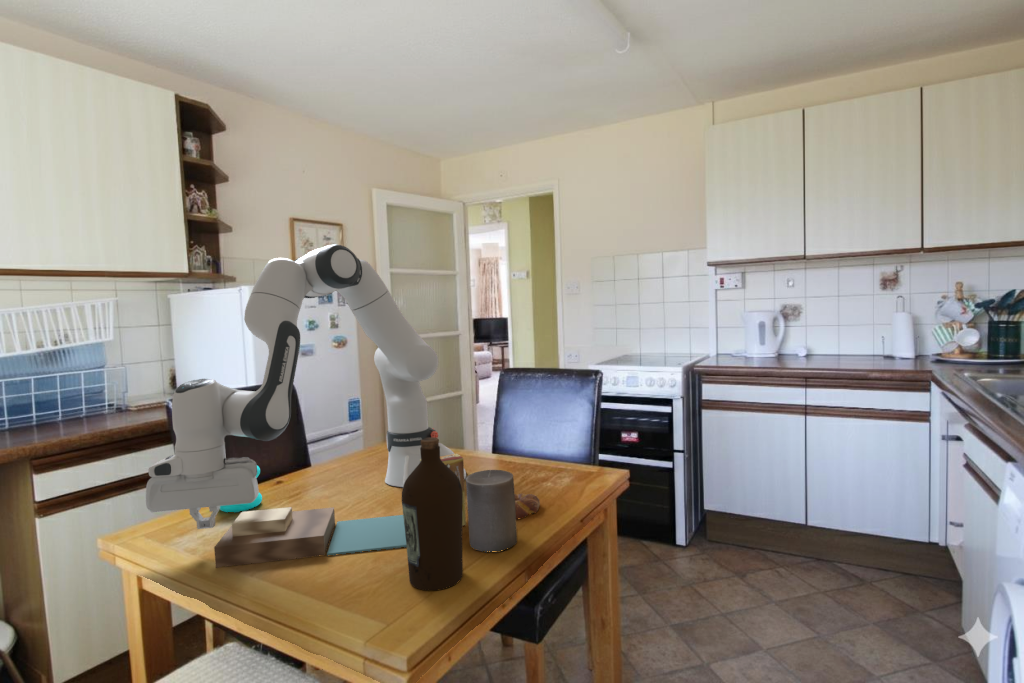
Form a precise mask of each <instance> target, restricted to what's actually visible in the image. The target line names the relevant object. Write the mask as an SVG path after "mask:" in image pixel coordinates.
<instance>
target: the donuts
mask: <svg viewBox="0 0 1024 683" xmlns="http://www.w3.org/2000/svg"><path fill="white" fill-rule="evenodd" d="M260 474H261V468H260V466H259V465H257V475H256V479H257V478H258V477H259V475H260ZM262 502H263V496H262V493H261V492H259V494H258V496H257V498H256V499H255V500H254V501H253V502H252V503H245V504H235V505H224V506H220V509H219V511H221V512H224V513H228V512H234V513H239V512H240V511H242V512H245V511H250V510H253V509H255V508H256V507H258V506H259V505H260V504H261V503H262ZM254 507H255V508H254ZM249 509H250V510H249ZM240 513H241V512H240Z"/></svg>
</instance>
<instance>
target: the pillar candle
mask: <svg viewBox="0 0 1024 683" xmlns="http://www.w3.org/2000/svg"><path fill="white" fill-rule="evenodd" d="M464 481H465V485H466V486H465V488H466V503H467V521H468V522H467V523H468V535H469V546H470V545H471V546H470V547H472V548H474V549H473V550H475V549H476V550H475V551H479V552H483V551H485V552H484V553H487V551H488V552H489V551H490V552H492V551H501V550H504V549H507V548H510V547H512V546H513V545H514V546H515V545H516V544H517V543H518V538H517V535H518V534H517V530H518V529H517V519H516V510H515V481H514V475H513V473H512V472H510V471H508V470H500V469H487V470H486V469H484V470H479V471H476V472H472V473H471V474H469V475H466V478H465V479H464ZM514 546H513V547H514ZM513 547H512V548H513ZM472 548H471V549H472ZM510 549H511V548H510Z"/></svg>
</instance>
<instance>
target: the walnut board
mask: <svg viewBox="0 0 1024 683" xmlns="http://www.w3.org/2000/svg"><path fill="white" fill-rule="evenodd" d="M292 518H293V519H292V520H291V522H290V524H289V526H288V528H287V530H286V531H282V532H272V533H263V534H253V535H243V536H234V537H233V535H232V525H230V527H229V528H228V529H227V530H226V532H225V533H224V534H223V536H222V537H221V538H220V540H219V541H218V542H217V543H216V544H215V545H214V547H213V549H214V560H215V564H214V565H215V568H223V567H222V566H225V567H232V565H234V566H241V565H242V564H243V565H249V564H250V565H251V563H252V564H260V563H269V561H270V562H277V560H278V561H286V560H287V559H288V560H295V559H296V558H297V559H304V558H303V557H306V558H313V557H312V556H314V557H320V556H319V555H323V556H326V554H327V551H328V548H329V545H330V542H331V541H330V540H331V539H332V536H333V533H334V530H335V527H336V519H335V507H334V506H333V507H325V508H324V507H323V508H316V509H303V510H294V511H293V510H292ZM334 526H335V527H334ZM333 529H334V530H333ZM332 532H333V533H332ZM331 535H332V536H331ZM330 538H331V539H330ZM329 541H330V542H329ZM328 544H329V545H328ZM327 547H328V548H327ZM326 550H327V551H326ZM325 553H326V554H325ZM243 565H242V566H243Z"/></svg>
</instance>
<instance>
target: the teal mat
mask: <svg viewBox="0 0 1024 683" xmlns="http://www.w3.org/2000/svg"><path fill="white" fill-rule="evenodd" d="M330 540H331V541H330V542H329V545H328V548H327V551H326V556H327V557H329V556H328V555H333V556H337V555H336V554H342V555H347V554H346V553H351V554H356V553H355V552H360V553H363V552H362V551H368V552H371V551H370V550H377V551H382V550H381V549H386V550H394V549H393V548H395V549H402V548H401V547H404V548H407V546H406V536H405V526H404V517H403V514H399V515H398V514H397V515H388V516H379V517H378V516H377V517H369V518H368V517H367V518H359V519H350V520H349V519H348V520H340V521H337V522H336V524H335V527H334V530H333V533H332V536H331V539H330Z"/></svg>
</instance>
